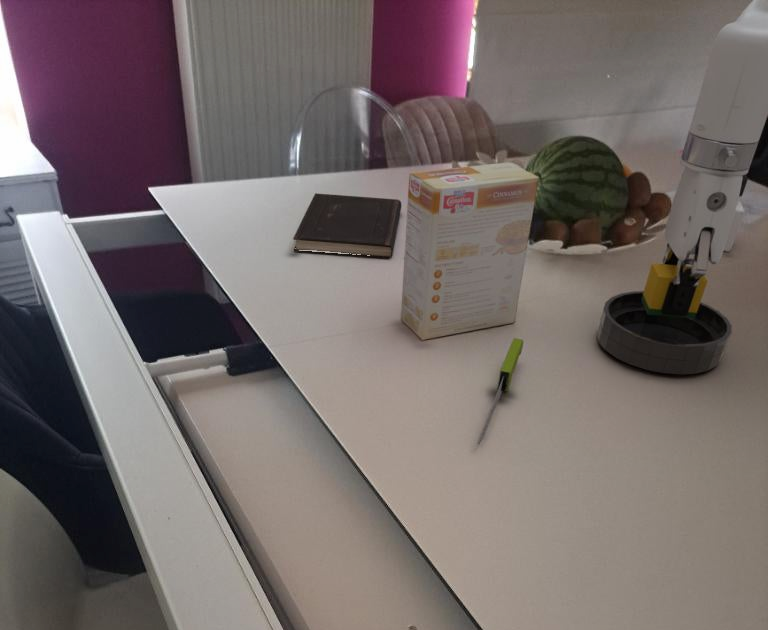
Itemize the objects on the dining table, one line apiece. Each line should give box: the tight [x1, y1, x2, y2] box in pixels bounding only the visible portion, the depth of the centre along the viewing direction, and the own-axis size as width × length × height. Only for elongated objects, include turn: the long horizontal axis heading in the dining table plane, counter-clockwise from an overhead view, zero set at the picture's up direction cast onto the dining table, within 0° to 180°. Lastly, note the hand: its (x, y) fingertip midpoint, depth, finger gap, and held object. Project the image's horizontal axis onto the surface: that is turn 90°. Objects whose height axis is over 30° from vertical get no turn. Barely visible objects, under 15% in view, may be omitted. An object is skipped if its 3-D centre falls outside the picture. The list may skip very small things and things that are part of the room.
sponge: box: [641, 262, 708, 319], centre depth 94 cm, size 6×4×5 cm
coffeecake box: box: [400, 161, 540, 341], centre depth 97 cm, size 15×7×20 cm, turn 115°
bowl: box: [596, 290, 733, 375], centre depth 98 cm, size 16×16×4 cm
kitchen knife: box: [477, 337, 524, 446], centre depth 86 cm, size 22×1×3 cm, turn 161°
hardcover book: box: [292, 192, 402, 260], centre depth 127 cm, size 16×23×2 cm
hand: (669, 304), depth 95 cm, fingers closed on sponge, 4 cm apart
